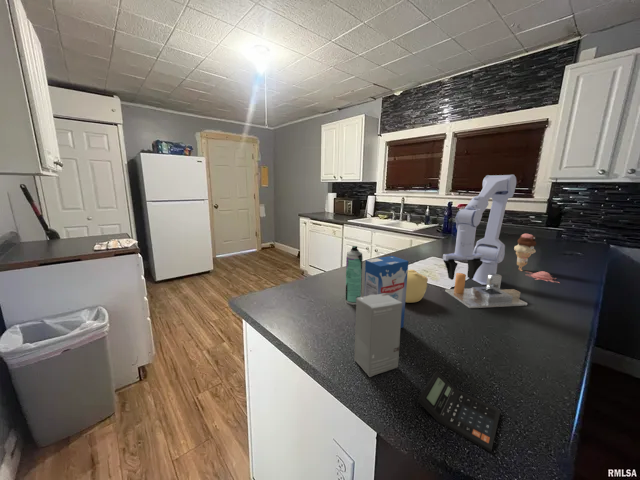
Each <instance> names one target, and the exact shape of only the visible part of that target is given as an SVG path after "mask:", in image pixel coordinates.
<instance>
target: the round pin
mask: <svg viewBox="0 0 640 480" xmlns="http://www.w3.org/2000/svg"><path fill="white" fill-rule="evenodd" d="M466 278H467V275H466V274H465V273H461V272H455V278H454V279H455V281H454V288H453V289H454V292H455V293H458V294H463V293H464V289H465V285H466Z"/></svg>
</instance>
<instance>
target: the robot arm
mask: <svg viewBox="0 0 640 480" xmlns="http://www.w3.org/2000/svg"><path fill="white" fill-rule="evenodd" d="M516 187H517V177H516V176H515V174H503V175H502V174H499V175H497V174H495V175H494V174H493V175H489V174H487V175H485V177H484V178H483V180H482V189H481V191H480V192H479V194H478V195H475V196H473V197H472V198H471V199H470V201H469V202H468V203H467V205H466V206H465V207H464V208H461V209H460V210H458V211H457V213H456V215H455V219H454V220H455V224H456V225H455V228H456V230H457V232H456V238H455V239H456V241H455V248H454V252H452V253H451V252H450V253H443V255H442V260H443V262H444V265H445V268H446V271H447V276H448V277H447V278H448V279H450V280H452V281H453V280H454V279H455V275H456V270H457V269H456V268H457V266H458V264H459V263H457V262H456V261H463V260H465V261H467V273H466V274H467V275H466V277H467V278H468V279H470V280H473V281H474V282H476V283H478V284H480V285H482V286H486V283H487V276H488V274H489V273H494V274H497V271H498V264H500V263H501V262H503V260H504V259H505V253H506V252H505V250H506V244H504V242H502V241H501V240H500V239H499V237H500V234H501V229H502V224H503V219H504V216H505V213H506V207H507V204H508V201H509V199H511V198H513V197H514V194H515V191H516ZM490 199H491V200H492V201H491V207H490V212H489V216H488V221H487V224H486V227H485V228H486V229H485V233H484V237H483V238H480V239H479V240H477V241H476V242H475V239H476V230H477V227H478V226H479V225H480V223H481V220H482V217H483V214H484V212H485V211H486V209H487V208H488V207H489V203H490V202H489V200H490Z"/></svg>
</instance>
